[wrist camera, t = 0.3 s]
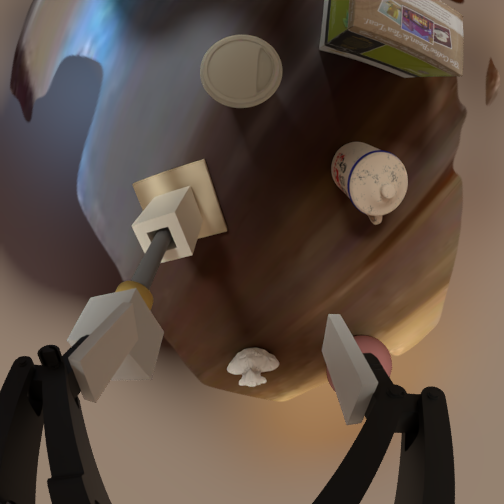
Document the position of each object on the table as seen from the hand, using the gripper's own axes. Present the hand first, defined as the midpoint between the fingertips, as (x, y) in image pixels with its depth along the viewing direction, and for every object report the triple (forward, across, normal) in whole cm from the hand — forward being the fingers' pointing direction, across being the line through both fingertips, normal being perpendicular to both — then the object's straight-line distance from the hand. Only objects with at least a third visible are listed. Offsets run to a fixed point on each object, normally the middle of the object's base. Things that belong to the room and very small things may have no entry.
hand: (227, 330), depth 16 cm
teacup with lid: (+28, +17, +11) cm, 35 cm away
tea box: (+21, +17, +34) cm, 43 cm away
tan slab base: (+28, -10, +5) cm, 30 cm away
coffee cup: (+23, -1, +24) cm, 33 cm away
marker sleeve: (+26, -10, +5) cm, 29 cm away
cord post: (+28, -10, +5) cm, 30 cm away
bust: (+39, +2, -29) cm, 49 cm away
